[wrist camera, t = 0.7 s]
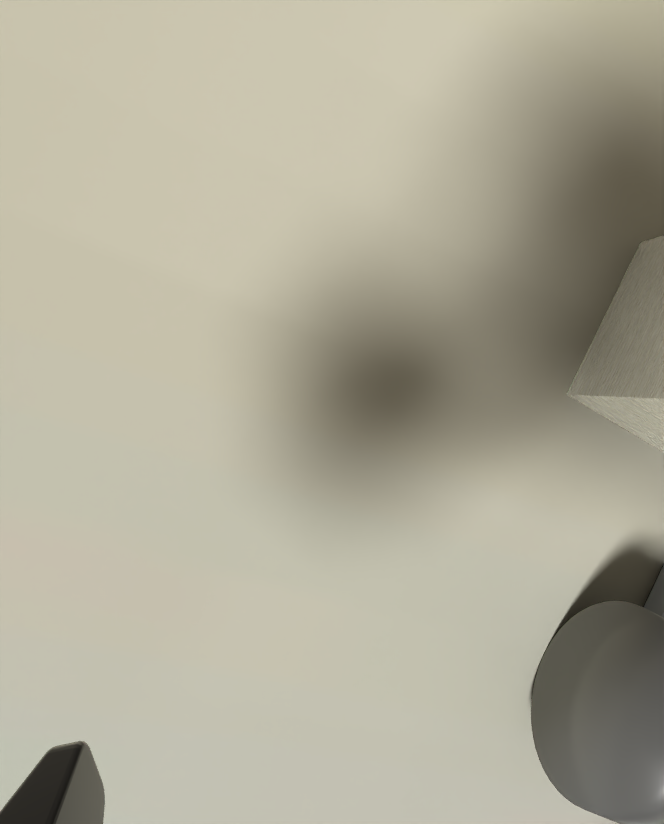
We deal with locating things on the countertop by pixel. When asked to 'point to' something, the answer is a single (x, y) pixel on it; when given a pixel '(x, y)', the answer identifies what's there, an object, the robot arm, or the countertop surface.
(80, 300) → the countertop surface
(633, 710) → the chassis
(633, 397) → the block
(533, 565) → the countertop surface
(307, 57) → the countertop surface
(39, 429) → the countertop surface
